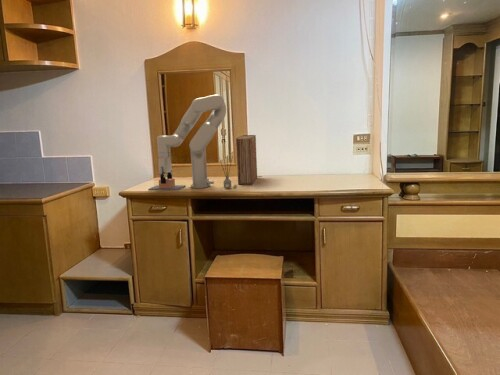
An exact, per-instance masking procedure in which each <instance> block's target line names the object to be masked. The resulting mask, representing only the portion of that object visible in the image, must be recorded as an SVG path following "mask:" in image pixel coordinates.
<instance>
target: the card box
mask: <svg viewBox="0 0 500 375" xmlns="http://www.w3.org/2000/svg"><path fill="white" fill-rule="evenodd" d="M158 185H159V188H173V187H175V185H176V181H175V178H172V179H167V178H166V183H165V184H161V179H159V180H158Z"/></svg>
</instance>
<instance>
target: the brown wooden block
mask: <svg viewBox="0 0 500 375" xmlns="http://www.w3.org/2000/svg"><path fill="white" fill-rule="evenodd" d="M256 135H257V134H251V135H249V134H245V135H240V136H237V137H235V146H236V165H237V184H238V185H239V186H240V185H243V184H244V185H247V184H248V185H250V184H251V185H253V184H254V183H255V182H256V180H257V179H258V166H257V164H258V163H257V138H256ZM238 185H237V186H238Z"/></svg>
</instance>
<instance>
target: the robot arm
mask: <svg viewBox="0 0 500 375" xmlns="http://www.w3.org/2000/svg"><path fill="white" fill-rule="evenodd" d="M209 111H211V113H210V114H209V116H208V118H207V119H206V121H204V123H203V124H202V125H200V127H199V129H197V131H196V133H195V135H194V136H193V137H192V139H190V141H189V145H188V146H189V149H190V160H191V176H192V184H189V185H190V188H191V189H192V188H193V189H204V188H209V187H211V185H213V184H215V181H214V180H210V179H209V178H208V166H207V146H208V145H209V144H210V142H211V141H212V140H213V138H214V136H215V135H216V132H217V130H218V129H219V127H220V126H221V124H222V122H223V121H224V119H225V117H226V115H227V104H226V102H225V99H224V97H223V96H222V95H221V94H212V95H211V94H210V95H207V96H204V97H198V98H195V99H193V100H192V102H191V105H190V106H189V107H188V108H187V110H186V112H185V113H184V115H183V117H182V118H181V120H180V123H179V125H178V126H177V128H176V129H175V131H174V132H173V134H171V135H166V134H165V135H164V134H163V135H158V136H157V137H156V141H157V155H158V174H159V178H160V179H161V184H165V183H166V179H173V166H172V161H171V160H172V159H171V157H172V156H171V147H173V148H177V147H180V146H181V144H182V143H183V142H184V141H185V139H186V137H187V136H188V135H189V132H190V131H191V130H193V128H194V126H195V125H196V123H197V122H198V121H199V119H200V117H202V115H203V113H205V112H209ZM160 179H159V180H160Z"/></svg>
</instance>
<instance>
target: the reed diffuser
mask: <svg viewBox="0 0 500 375" xmlns="http://www.w3.org/2000/svg"><path fill="white" fill-rule="evenodd" d="M231 158H234V157H233V155H232V156H231ZM218 159H219V162H220V164H221V167H222V170H223V172H224V175H225V179H224V180H223V188H226V189H227V188H232V187H233V189H237V188H238V185H237V184H236V183H235V184H234V185H233V186H232V180H231V179H230V177H229V175H230V173H229V172H230V170H231V168H229V167H232V166H231V165H232V161H233V159H231V160H230V164H228V163H229V162H228V159H229V158H228V155H227V156H226V160H227V161H226V160H225V159H223V161H224V163H226V165H224V167H225V169H224V167H223V163H222V161H221V159H220V157H218ZM228 165H229V167H228ZM228 168H229V170H228ZM225 170H226V171H225Z"/></svg>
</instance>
